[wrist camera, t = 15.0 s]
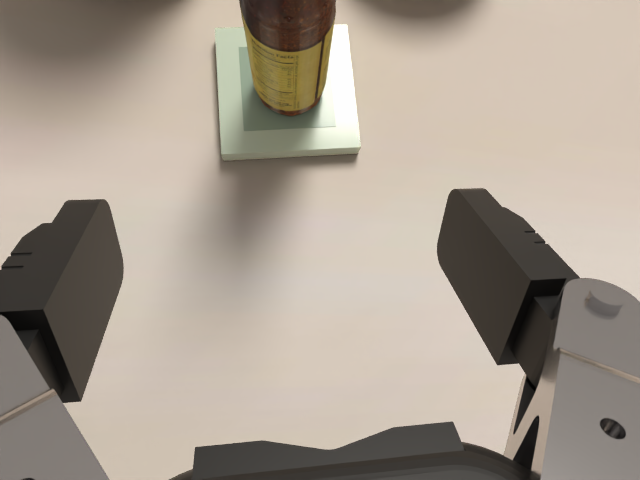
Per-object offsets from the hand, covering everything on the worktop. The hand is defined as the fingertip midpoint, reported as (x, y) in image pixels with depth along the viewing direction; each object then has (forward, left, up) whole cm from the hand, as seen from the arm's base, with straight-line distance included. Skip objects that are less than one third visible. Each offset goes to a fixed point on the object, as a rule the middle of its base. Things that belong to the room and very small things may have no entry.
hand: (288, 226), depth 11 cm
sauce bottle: (+2, +18, -26) cm, 32 cm away
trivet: (+2, +19, -28) cm, 33 cm away
